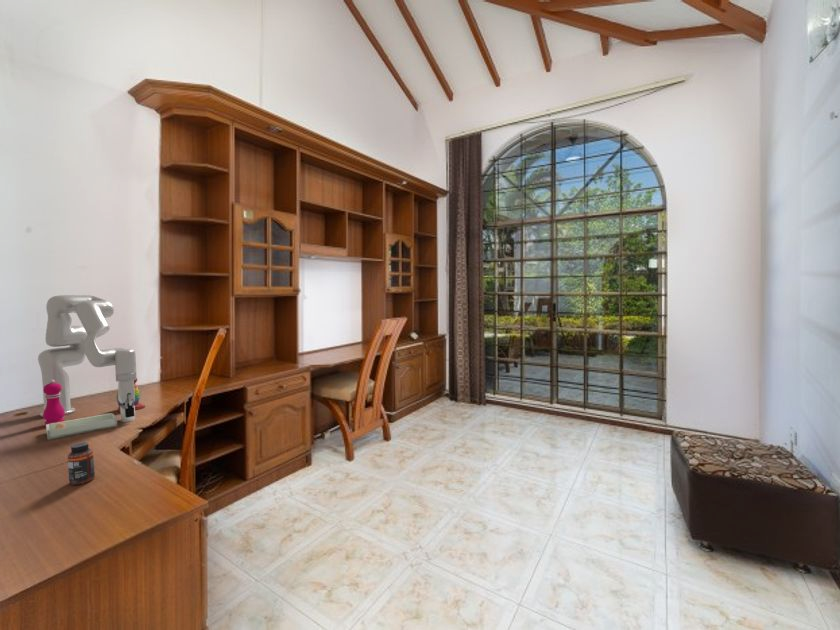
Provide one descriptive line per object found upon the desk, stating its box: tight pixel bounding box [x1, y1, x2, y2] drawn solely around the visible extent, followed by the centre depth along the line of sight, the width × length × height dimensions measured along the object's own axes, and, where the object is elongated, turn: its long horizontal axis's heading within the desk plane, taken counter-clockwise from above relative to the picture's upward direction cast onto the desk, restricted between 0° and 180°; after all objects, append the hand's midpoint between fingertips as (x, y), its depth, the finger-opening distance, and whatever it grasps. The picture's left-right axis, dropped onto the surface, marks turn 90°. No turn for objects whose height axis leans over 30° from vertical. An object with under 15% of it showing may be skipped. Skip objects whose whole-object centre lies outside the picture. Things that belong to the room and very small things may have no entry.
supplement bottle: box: [67, 441, 96, 486], centre depth 120 cm, size 6×6×11 cm
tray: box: [45, 412, 118, 441], centre depth 168 cm, size 12×22×4 cm, turn 135°
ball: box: [55, 423, 66, 429], centre depth 165 cm, size 3×3×3 cm
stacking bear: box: [116, 378, 146, 412], centre depth 199 cm, size 11×10×18 cm
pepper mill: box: [42, 380, 66, 427], centre depth 176 cm, size 7×7×20 cm
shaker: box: [119, 405, 136, 423], centre depth 180 cm, size 5×5×7 cm
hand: (128, 414), depth 180 cm, fingers open, 8 cm apart
